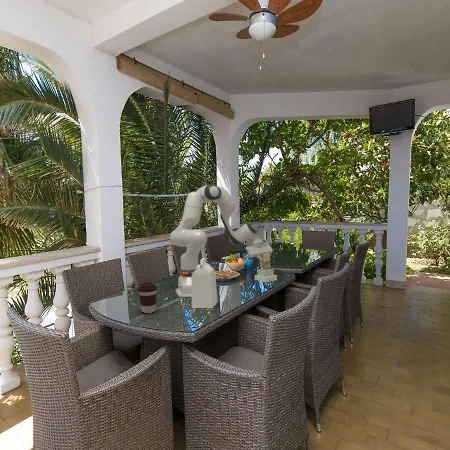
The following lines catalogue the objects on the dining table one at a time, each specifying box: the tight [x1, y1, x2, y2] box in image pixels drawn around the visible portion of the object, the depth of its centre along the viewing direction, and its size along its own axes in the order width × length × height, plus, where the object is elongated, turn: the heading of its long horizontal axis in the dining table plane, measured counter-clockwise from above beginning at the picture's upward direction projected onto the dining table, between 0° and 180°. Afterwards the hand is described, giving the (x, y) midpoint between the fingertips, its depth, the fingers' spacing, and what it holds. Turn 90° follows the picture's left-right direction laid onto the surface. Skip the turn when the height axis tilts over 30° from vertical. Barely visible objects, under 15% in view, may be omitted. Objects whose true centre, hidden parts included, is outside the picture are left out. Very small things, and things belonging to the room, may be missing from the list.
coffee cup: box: [137, 282, 158, 314], centre depth 187 cm, size 10×10×15 cm
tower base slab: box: [253, 274, 278, 284], centre depth 245 cm, size 11×11×4 cm
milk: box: [191, 257, 218, 309], centre depth 194 cm, size 12×12×26 cm
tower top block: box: [256, 267, 275, 277], centre depth 245 cm, size 8×8×4 cm
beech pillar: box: [259, 253, 271, 268], centre depth 245 cm, size 5×5×9 cm
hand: (265, 259), depth 244 cm, fingers closed on beech pillar, 5 cm apart
